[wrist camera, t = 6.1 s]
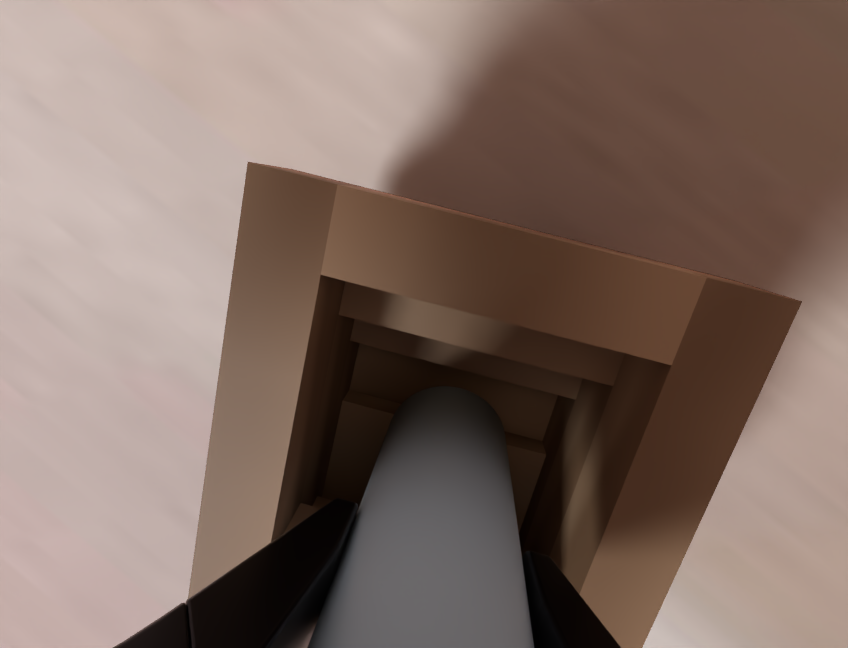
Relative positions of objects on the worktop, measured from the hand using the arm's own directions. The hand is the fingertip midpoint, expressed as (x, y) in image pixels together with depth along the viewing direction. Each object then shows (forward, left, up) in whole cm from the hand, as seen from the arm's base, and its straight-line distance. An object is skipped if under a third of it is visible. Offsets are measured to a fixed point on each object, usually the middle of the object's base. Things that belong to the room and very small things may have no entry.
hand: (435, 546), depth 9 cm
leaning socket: (0, 0, -7) cm, 7 cm away
